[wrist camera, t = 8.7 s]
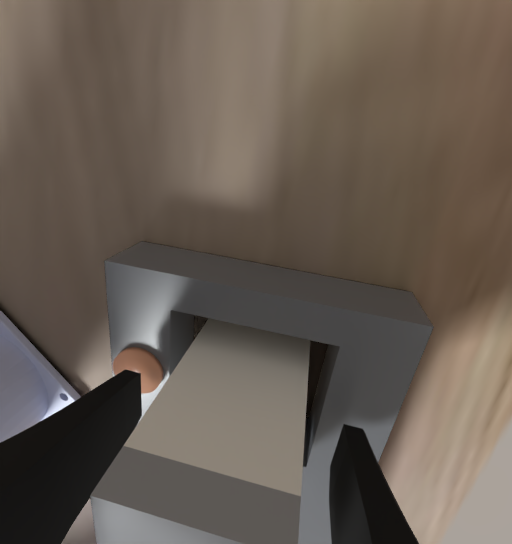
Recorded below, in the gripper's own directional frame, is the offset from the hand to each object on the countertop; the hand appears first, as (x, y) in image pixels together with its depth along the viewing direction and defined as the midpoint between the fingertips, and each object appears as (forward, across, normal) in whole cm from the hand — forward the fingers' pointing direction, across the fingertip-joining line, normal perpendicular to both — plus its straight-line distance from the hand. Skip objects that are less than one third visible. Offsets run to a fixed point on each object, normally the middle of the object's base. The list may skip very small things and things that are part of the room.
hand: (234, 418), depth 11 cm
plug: (+4, 0, +1) cm, 4 cm away
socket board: (+4, 0, +4) cm, 5 cm away
